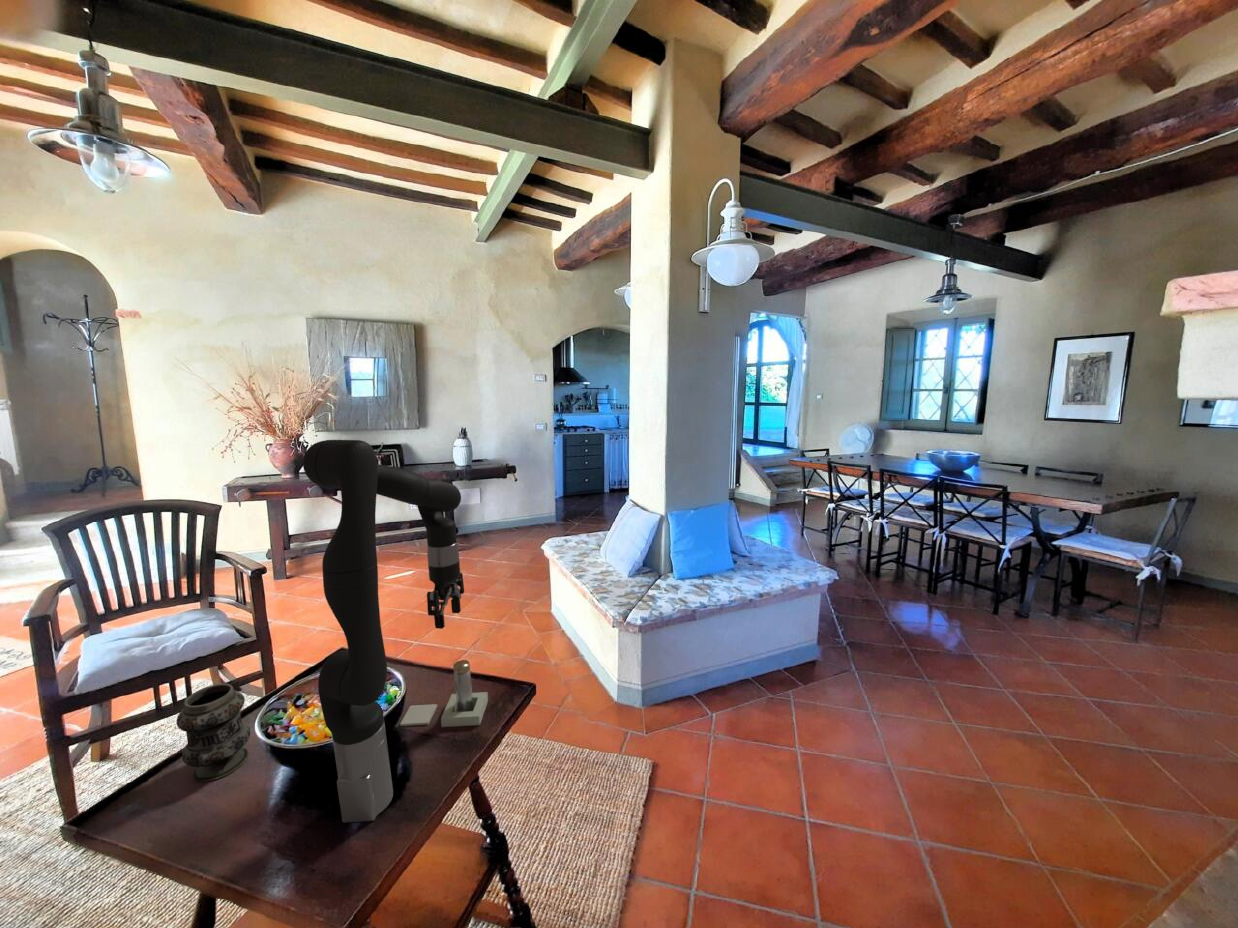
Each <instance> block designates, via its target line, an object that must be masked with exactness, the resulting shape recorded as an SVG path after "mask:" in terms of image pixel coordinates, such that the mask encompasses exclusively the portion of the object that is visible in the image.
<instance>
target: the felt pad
mask: <svg viewBox="0 0 1238 928" xmlns="http://www.w3.org/2000/svg"><path fill="white" fill-rule="evenodd" d="M437 708H438V704H437V703H434V704H433V703H432V704H417V705H410V706H409V708H408V709H407V710H406V713H405V714H404V716H403V717H402V720H401V722H400V723H399V726H400V727H410V726H423V725H424V726H426V725H427V726H428V725H429V724H430V723H431V720H432V718H433V716H434V713H435V712H436V710H437Z"/></svg>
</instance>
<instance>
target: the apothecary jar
mask: <svg viewBox="0 0 1238 928" xmlns="http://www.w3.org/2000/svg"><path fill="white" fill-rule="evenodd" d="M245 701H246V700H245V696H244V695H243V693H242V692H240V691H238V690H235V689H234V687H233V685H232V684H229V683H217V684H212V685H208V686H205V687H204V688H201V689H198V690H196V691H195V692H192V694H190V695H189V696H188V697H186V699H185V700H184V703H183V706H184V707H183V709H182V710H181V711H180V712H179V714H178V715H177V718H176V727H177V728H178V729H180V730H181V731H183V732H185V733H186V741H187V744H185V746H184V748H183V749H182V753H181V760H182V762H183V763H184V764H185V765H186V766H189V767H193V768H196V769H195V770H194V772H193V774H194V775H192V776H194V777H193V780H195V781H196V780H197V782H198V781H199V782H198V783H207V782H208V781H209V782H212V781H217V780H218V779H222V778H224V777H227V776H228V775H230V774H231V773H233V772H235V771H236V770H238V769H239V768H240V767H241V766H243V764H245V762H246V761H247V759H248V758H249V751H248V749H247V748H244V746H245V745H246V744H247V742H248V741H249V739H250V737H251V728H250V726H249V725H248V724H247V723H245V722H243V721H242V717H241V716H242V714H241V710H242V709H243V708H244V705H245Z"/></svg>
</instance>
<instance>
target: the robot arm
mask: <svg viewBox="0 0 1238 928" xmlns="http://www.w3.org/2000/svg"><path fill="white" fill-rule="evenodd" d="M303 455H304V456H303V461H302V467H303V471H304V474H305V475H306V477H307V478H308V479H309V480H310V481H311V483H314V484H315V485H317V486H319V487H323V488H329V489H340V495H341V512H340V513H341V514H340V518H339V519H340V520H339V523H338V524H337V528H336V530H335V532H334V533H333V535H332V537H331V539H330V540H329V543H328V545H327V546H326V549H325V551H324V554H323V557H322V562H321V563H322V583H323V584H322V585H323V593H324V596H325V600H326V602H327V605H328V607H329V608H330V610H331V612H332V614H333V615H334V617H335V620H336V621H337V622H338V624H339V626H340V628H341V629H342V632H343V634H344V636H345V640H346V644H347V649H343V650H339V651H338V650H337V651H336V652H333V654H331V655H330V656H329V657H328V658H327V659H326V660H325V661H324V663H323V665H322V667H321V669H320V672H319V675H318V681H317V688H318V689H317V690H318V691H317V692H318V697H319V702H320V707H321V711H322V716H323V721H324V724H325V726H326V728H327V729H328V730H329V731H330V734H331V738H332V744H333V750H334V757H335V765H336V766H335V767H336V772H337V780H336V787H337V793H338V800H339V806H340V807H339V808H340V813H341V820H342V821H341V822H342V823H353V822H354V823H355V822H356V823H357V822H358V823H359V822H372V821H375V820H376V818H377V816H379V814H380V813H382V812H383V811H384V810H386V808H387V807H388V806H389V804H390V803H391V802H392V799H393V796H394V788H393V787H394V786H393V780H392V773H391V765H390V757H389V756H390V755H389V748H388V742H387V734H386V725H385V717H384V712H383V710H382V708H381V706H380V705H379V704H378V703H377V702H375V701H376V700H377V699H378V697H379V696H380V695H381V693H382V691H383V689H384V686H385V687H386V681H387V675H388V663H387V656H386V648H385V645H384V639H383V638H384V637H383V631H382V626H381V625H382V623H381V613H380V600H379V570H378V556H377V538H376V537H377V536H376V535H377V534H376V533H377V532H376V529H377V528H376V510H377V507H376V506H377V495H379V496H383V497H386V498H389V499H392V500H396V501H398V502H402V503H405V504H409V505H414V506H417V509H418V513H419V515H420V517H421V520H422V522H423V525H424V528H425V530H426V542H427V551H426V552H427V553H426V554H427V555H426V556H427V565H428V566H427V569H428V576H429V577H428V578H429V581H430V582H432V583H433V585H434V588H433V591H427V593H426V602H427V615H428V616H432V617H433V616H434V617H433V618H434V619H433V620H434V627H435V629H438V630H439V629H443V628H445V627H446V625H445V615H444V614H445V613H444V612H445V608H446V606H448V602H449V601H450V603H451V604H450V605H451V613H453V614H460V613H461V610H462V609H461V599H462V594H463V595H464V594H465V586H464V585H465V584H464V575H463V573H462V572H461V567H460V564H461V563H460V552H459V546H458V539H457V538H458V537H457V526H456V522H455V521H454V520H453V519H449V518H447V517H445V516H444V515H443V514H442V513H443V512H444V513H449V512H450V513H451V512H453V511H454V510H456V509H458V507H459V505H460V504H461V502H462V494H461V491H460V490H459V488H458V487H457V486H456V485H455V484H453V483H450V482H448V481H447V482H446V481H442V480H438V479H432V478H429V477H428V478H427V477H426V476H423V475H422V474H421V475H420V474H419V473H416V472H414V471H410V470H407V469H405V468H400V467H394V466H389V465H383V464H380V463H378V459H377V458H378V457H377V454H376V451H375V450H374V448H373V446H372V445H371V444H370V443H368V442H366V441H365V440H360V439H326V440H320V441H318V442H315V443H313V444H311V446H309V447H308V449H306V452H305V453H304V454H303ZM450 599H451V600H450Z"/></svg>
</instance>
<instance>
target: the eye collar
mask: <svg viewBox="0 0 1238 928" xmlns="http://www.w3.org/2000/svg"><path fill="white" fill-rule="evenodd" d="M472 697H473V708H474V710H473V711H468V712H457V701H456V693H452V694H451V695H450V697H449V700H448V702H447V704H446V706H445V708H444V711H443V712H442V715H441V717H440V724H441V728H449V727H451V728H453V727H466V726H468V727H469V726H480V725H481V723H482V720H483V717H484V713H485V712H486V708H487V705H488V702H489V694H488V691H481V692H472Z"/></svg>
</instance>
